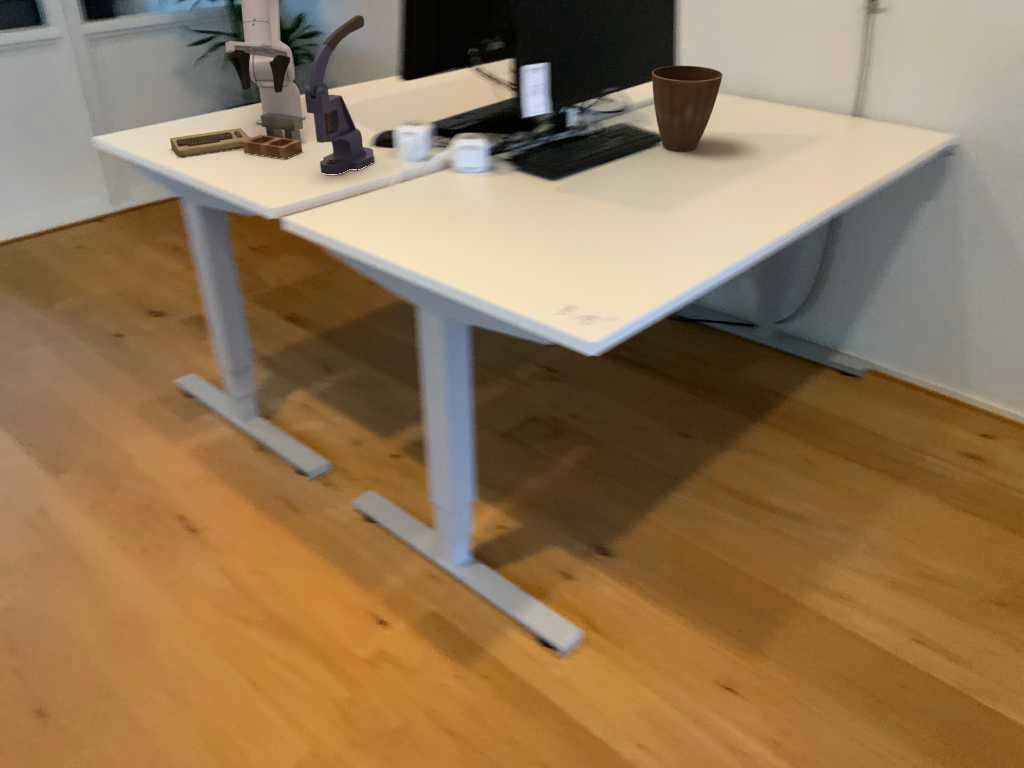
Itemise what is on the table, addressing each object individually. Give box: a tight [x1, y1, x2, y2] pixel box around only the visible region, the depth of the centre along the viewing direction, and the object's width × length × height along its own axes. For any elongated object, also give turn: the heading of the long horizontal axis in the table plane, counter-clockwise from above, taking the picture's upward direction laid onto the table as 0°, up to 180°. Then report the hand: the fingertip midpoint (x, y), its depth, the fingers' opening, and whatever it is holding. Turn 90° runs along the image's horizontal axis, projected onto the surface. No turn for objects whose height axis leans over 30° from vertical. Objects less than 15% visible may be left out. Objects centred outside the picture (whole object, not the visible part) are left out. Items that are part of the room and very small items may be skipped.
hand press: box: [304, 14, 375, 174], centre depth 172 cm, size 19×9×28 cm, turn 155°
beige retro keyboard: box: [169, 127, 251, 158], centre depth 188 cm, size 16×8×3 cm, turn 121°
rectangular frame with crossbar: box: [243, 134, 303, 160], centre depth 185 cm, size 6×11×2 cm, turn 65°
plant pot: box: [651, 65, 723, 152], centre depth 187 cm, size 15×15×16 cm
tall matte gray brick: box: [260, 113, 304, 142], centre depth 193 cm, size 3×9×6 cm, turn 65°
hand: (262, 90), depth 186 cm, fingers open, 7 cm apart
